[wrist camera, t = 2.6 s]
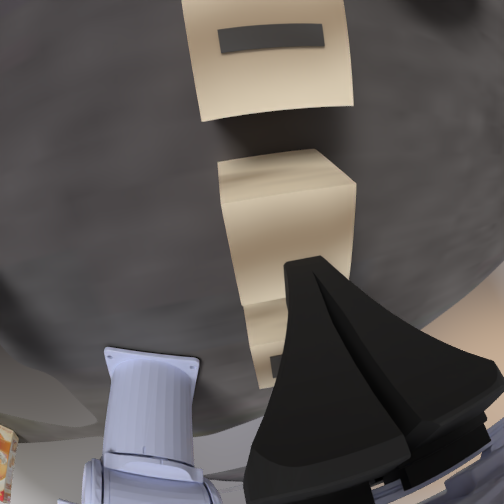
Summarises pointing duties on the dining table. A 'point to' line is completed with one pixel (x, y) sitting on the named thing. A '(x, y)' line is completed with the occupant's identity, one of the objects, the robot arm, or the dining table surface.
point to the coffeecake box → (7, 461)
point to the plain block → (284, 217)
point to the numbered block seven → (266, 337)
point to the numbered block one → (268, 55)
